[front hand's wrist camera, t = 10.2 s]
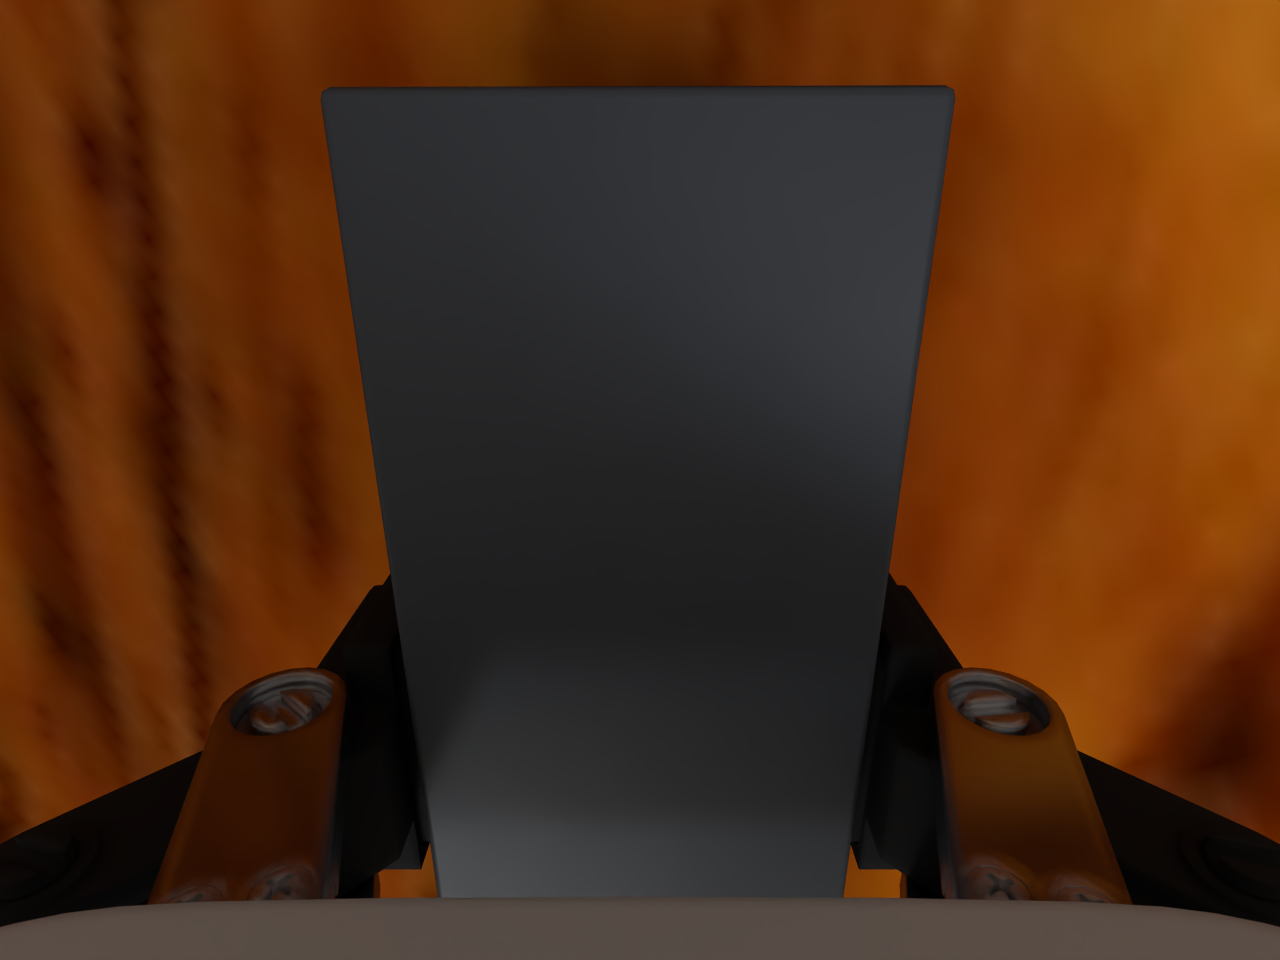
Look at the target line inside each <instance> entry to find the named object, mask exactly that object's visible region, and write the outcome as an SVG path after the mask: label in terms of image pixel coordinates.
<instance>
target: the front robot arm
mask: <svg viewBox="0 0 1280 960" xmlns="http://www.w3.org/2000/svg"><path fill="white" fill-rule="evenodd" d="M429 843H430V838H429V831H428V825H427V818H426V811H425V804H424V797H423V791H422V784H421V777H420V770H419V764H418V757H417V750H416V743H415V736H414V730H413V723H412V716H411V709H410V702H409V696H408V689H407V682H406V675H405V668H404V662H403V655H402V648H401V641H400V635H399V628H398V621H397V614H396V607H395V601H394V594H393V587H392V580H391V573H390V575H389V576H388V578H387V579H386V581H385V582H384V584H383V585H377V586H374V587H373V588H372V589H371V590H370V591H369V592H368V594H367V595H366V597H365V598H364V600H363V601H362V603H361V604H360V606H359V607H358V609H357V610H356V611H355V613H354V614H353V616H352V617H351V619H350V620H349V622H348V623H347V625H346V626H345V628H344V629H343V631H342V632H341V633H340V635H339V636H338V638H337V639H336V641H335V642H334V644H333V645H332V647H331V648H330V650H329V651H328V653H327V654H326V655H325V657H324V658H323V660H322V661H321V663H320V664H319V666H318V667H317V668H309V667H308V668H295V669H288V670H284V671H280V672H276V673H271V674H269V675H266V676H264V677H261V678H259V679H256V680H254V681H252V682H250V683H249V684H247V685H245V686H244V687H242V688H240V689H239V690H237V691H236V692H234V693H233V694H232V695H231V696H230V697H229V698H228V699H227V700H226V701H225V702H223V704H222V706H221V707H220V709H219V710H218V712H217V714H216V716H215V718H214V721H213V724H212V727H211V729H210V732H209V735H208V738H207V740H206V743H205V746H204V749H203V751H200V752H198V753H196V754H194V755H192V756H189V757H187V758H185V759H183V760H181V761H178V762H176V763H174V764H172V765H170V766H167V767H165V768H163V769H161V770H159V771H156V772H154V773H152V774H150V775H148V776H145V777H143V778H141V779H139V780H137V781H134V782H132V783H130V784H128V785H126V786H123V787H121V788H119V789H117V790H115V791H112V792H110V793H108V794H106V795H104V796H101V797H99V798H97V799H95V800H93V801H90V802H88V803H86V804H84V805H82V806H79V807H77V808H75V809H73V810H71V811H68V812H66V813H64V814H62V815H60V816H57V817H55V818H53V819H51V820H49V821H46V822H44V823H42V824H40V825H38V826H36V827H33V828H31V829H29V830H27V831H25V832H22V833H21V834H19V835H17V836H15V837H13V838H11V839H9V840H7V841H6V842H4V843H2V844H0V960H1280V844H1278V843H1276V842H1274V841H1273V840H1271V839H1269V838H1267V837H1265V836H1263V835H1261V834H1259V833H1258V832H1255V831H1253V830H1251V829H1249V828H1247V827H1245V826H1242V825H1240V824H1238V823H1236V822H1234V821H1231V820H1229V819H1227V818H1225V817H1223V816H1220V815H1218V814H1216V813H1214V812H1212V811H1209V810H1207V809H1205V808H1203V807H1201V806H1198V805H1196V804H1194V803H1192V802H1190V801H1187V800H1185V799H1183V798H1181V797H1179V796H1176V795H1174V794H1172V793H1170V792H1168V791H1165V790H1163V789H1161V788H1159V787H1157V786H1154V785H1152V784H1150V783H1148V782H1146V781H1143V780H1141V779H1139V778H1137V777H1135V776H1132V775H1130V774H1128V773H1126V772H1124V771H1121V770H1119V769H1117V768H1115V767H1113V766H1110V765H1108V764H1106V763H1104V762H1102V761H1099V760H1097V759H1095V758H1093V757H1091V756H1088V755H1086V754H1084V753H1082V752H1080V751H1077V749H1076V746H1075V743H1074V740H1073V738H1072V735H1071V732H1070V729H1069V727H1068V724H1067V721H1066V718H1065V716H1064V714H1063V712H1062V710H1061V709H1060V707H1059V706H1058V704H1057V702H1055V701H1054V700H1053V699H1052V698H1051V697H1050V696H1049V695H1048V694H1047V693H1046V692H1044V691H1043V690H1041V689H1040V688H1038V687H1036V686H1035V685H1033V684H1031V683H1030V682H1028V681H1026V680H1024V679H1021V678H1019V677H1016V676H1014V675H1011V674H1009V673H1004V672H1000V671H996V670H992V669H985V668H972V667H971V668H963V667H962V666H961V664H960V663H959V661H958V660H957V658H956V657H955V655H954V654H953V652H952V651H951V650H950V648H949V647H948V645H947V644H946V642H945V641H944V639H943V638H942V636H941V635H940V633H939V632H938V631H937V629H936V628H935V626H934V625H933V623H932V622H931V620H930V619H929V617H928V616H927V614H926V613H925V611H924V610H923V609H922V607H921V606H920V604H919V603H918V601H917V600H916V598H915V597H914V595H913V594H912V592H911V591H910V590H909V589H908V588H907V587H906V586H903V585H897V584H896V582H895V581H894V579H893V578H892V576H891V575H890V573H889V574H888V581H887V588H886V595H885V602H884V609H883V617H882V624H881V631H880V638H879V645H878V652H877V659H876V667H875V674H874V681H873V688H872V695H871V702H870V709H869V717H868V724H867V731H866V738H865V745H864V752H863V759H862V767H861V774H860V781H859V788H858V795H857V802H856V810H855V817H854V824H853V831H852V838H851V846H852V849H853V852H854V856H855V859H856V862H857V865H858V868H859V869H897V870H899V871H900V872H902V875H901V880H900V898H789V897H492V898H380V880H379V875H378V872H380V871H381V870H383V869H421V868H422V865H423V862H424V859H425V856H426V853H427V849H428V846H429Z"/></svg>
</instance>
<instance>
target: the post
mask: <svg viewBox="0 0 1280 960" xmlns="http://www.w3.org/2000/svg"><path fill="white" fill-rule="evenodd" d="M954 102H955V95H954V90H953V89H951V88H949V87H947V86H945V85H900V86H550V87H330V88H328V89H326V90H324V91H322V95H321V105H322V112H323V118H324V125H325V132H326V139H327V146H328V152H329V159H330V166H331V173H332V180H333V186H334V193H335V200H336V207H337V214H338V220H339V227H340V234H341V241H342V247H343V254H344V261H345V268H346V275H347V281H348V288H349V295H350V302H351V309H352V315H353V322H354V329H355V336H356V343H357V349H358V356H359V363H360V370H361V376H362V383H363V390H364V397H365V404H366V410H367V417H368V424H369V431H370V438H371V444H372V451H373V458H374V465H375V472H376V478H377V485H378V492H379V499H380V505H381V512H382V519H383V526H384V533H385V539H386V546H387V553H388V560H389V567H390V573H391V580H392V587H393V594H394V601H395V607H396V614H397V621H398V628H399V635H400V641H401V648H402V655H403V662H404V668H405V675H406V682H407V689H408V696H409V702H410V709H411V716H412V723H413V730H414V736H415V743H416V750H417V757H418V764H419V770H420V777H421V784H422V791H423V797H424V804H425V811H426V818H427V825H428V831H429V838H430V845H431V852H432V859H433V865H434V872H435V879H436V886H437V893H438V898H492V897H789V898H843V895H844V888H845V881H846V874H847V867H848V860H849V852H850V845H851V838H852V831H853V824H854V817H855V810H856V802H857V795H858V788H859V781H860V774H861V767H862V759H863V752H864V745H865V738H866V731H867V724H868V717H869V709H870V702H871V695H872V688H873V681H874V674H875V667H876V659H877V652H878V645H879V638H880V631H881V624H882V617H883V609H884V602H885V595H886V588H887V581H888V574H889V567H890V559H891V552H892V545H893V538H894V531H895V524H896V517H897V509H898V502H899V495H900V488H901V481H902V474H903V467H904V459H905V452H906V445H907V438H908V431H909V424H910V416H911V409H912V402H913V395H914V388H915V381H916V374H917V366H918V359H919V352H920V345H921V338H922V331H923V324H924V316H925V309H926V302H927V295H928V288H929V281H930V274H931V266H932V259H933V252H934V245H935V238H936V231H937V224H938V216H939V209H940V202H941V195H942V188H943V181H944V174H945V166H946V159H947V152H948V145H949V138H950V131H951V123H952V116H953V109H954Z"/></svg>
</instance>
